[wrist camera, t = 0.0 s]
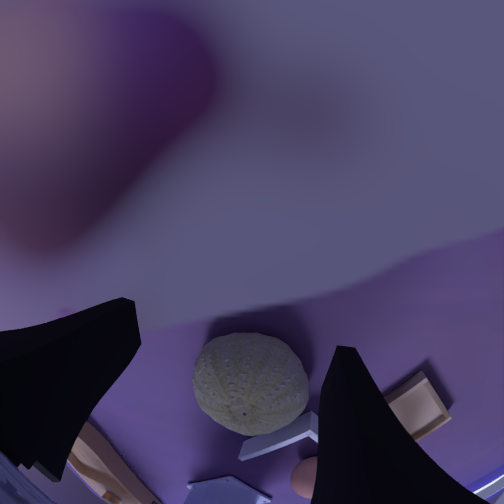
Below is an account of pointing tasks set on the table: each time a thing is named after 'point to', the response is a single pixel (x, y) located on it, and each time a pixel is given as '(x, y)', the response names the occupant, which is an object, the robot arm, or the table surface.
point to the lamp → (106, 470)
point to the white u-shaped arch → (281, 436)
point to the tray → (418, 406)
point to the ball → (304, 477)
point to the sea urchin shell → (250, 383)
